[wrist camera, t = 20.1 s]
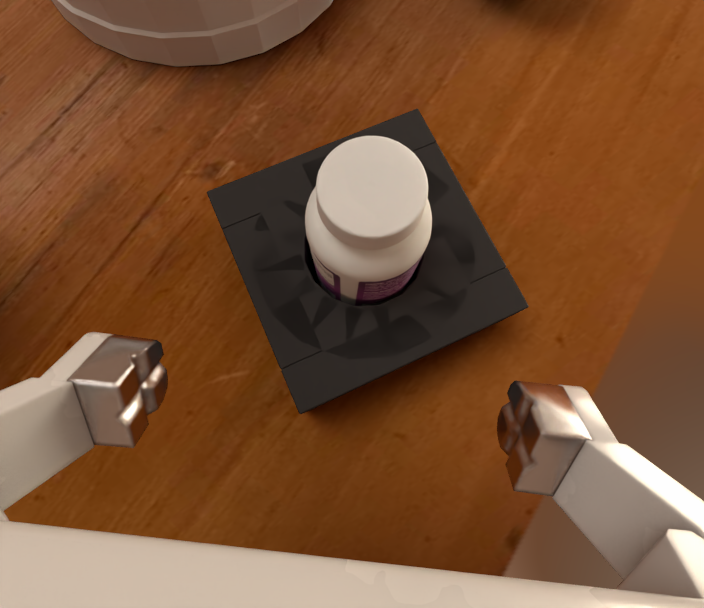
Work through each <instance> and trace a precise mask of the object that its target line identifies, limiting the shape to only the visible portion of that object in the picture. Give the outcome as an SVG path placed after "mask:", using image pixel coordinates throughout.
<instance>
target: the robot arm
mask: <svg viewBox="0 0 704 608" xmlns="http://www.w3.org/2000/svg"><path fill="white" fill-rule="evenodd" d="M163 355H164V354H163V349H162V345H161V343H160V342H159V341H157V340H152V339H145V338H138V337H130V336H123V335H115V334H114V335H112V334H105V333H98V332H91V333H87V334H85V335H84V336H83V337H82V338H81V339H80V340H79V341H78V342H77V343H76V344H75V345H74V346H73V347H72V348H70V349H69V350H68V351H67V352H66V353H65V354H64V355H63V356H62V357H61V358H60V359H59V360H58V361H57V362H56V363H55V364H54V365H53V366H52V367H51V368H50V369H48V370H47V371H46V372H45V373H44V374H43V375H42V376H41V377H40V378H30V379H27V380H25V381H22V382H20V383H18V384H15V385H13V386H10V387H8V388H5V389H3V390H1V391H0V608H704V501H703V500H701V499H700V498H698V497H697V496H696V495H694V494H693V493H692V492H690V491H689V490H688V489H686V488H685V487H683V486H682V485H681V484H679V483H678V482H676V481H675V480H674V479H672V478H671V477H670V476H668V475H667V474H666V473H664V472H663V471H661V470H660V469H659V468H658V467H656V466H655V465H653V464H652V463H651V462H649V461H648V460H647V459H645V458H644V457H643V456H641V455H640V454H638V453H637V452H636V451H634V450H633V449H632V448H630V447H629V446H627V445H626V444H619V443H618V441H617V439H616V438H615V436H614V435H613V433H612V431H611V430H610V428H609V426H608V425H607V423H606V422H605V420H604V418H603V417H602V415H601V413H600V412H599V410H598V408H597V407H596V405H595V404H594V402H593V400H592V399H591V397H590V395H589V394H588V392H587V391H586V390H585V389H584V388H582V387H578V386H567V385H551V384H542V383H533V382H523V381H514V382H513V383H512V384H511V385H510V388H509V390H508V393H507V394H508V397H509V400H510V402H509V403H507V404H506V405H504V406H503V407H502V408H501V410H500V413H499V416H498V422H497V435H498V440H499V444H500V447H501V449H502V450H503V451H504V452H506V453H507V454H508V455H509V458H508V460H507V462H506V467H507V470H508V474H509V477H510V480H511V483H512V487H513V490H514V491H518V492H526V493H533V494H540V495H547V496H553V499H554V501H555V502H556V503H557V504H558V505H559V506H560V508H561V509H562V510H563V511H564V512H565V513H566V514H567V516H568V517H569V518H570V519H571V520H572V521H573V522H574V524H575V525H576V526H577V527H578V528H579V529H580V530H581V532H582V533H583V534H584V535H585V536H586V537H587V539H588V540H589V541H590V542H591V543H592V544H593V546H594V547H595V548H596V549H597V550H598V551H599V553H600V554H601V555H602V556H603V557H604V558H605V559H606V561H607V562H608V563H609V564H610V565H611V566H612V567H613V569H614V570H615V571H616V572H617V573H618V574H619V576H620V577H621V578H622V579H623V581H622V582H621V583H620V584H619V586H618V587H617V588H616V589H608V588H599V587H590V586H581V585H573V584H564V583H555V582H545V581H537V580H528V579H519V578H510V577H501V576H492V575H483V574H475V573H466V572H457V571H448V570H439V569H430V568H421V567H412V566H403V565H394V564H385V563H376V562H367V561H358V560H349V559H340V558H331V557H322V556H313V555H305V554H296V553H287V552H278V551H269V550H260V549H251V548H242V547H233V546H225V545H216V544H207V543H198V542H189V541H180V540H171V539H162V538H153V537H145V536H136V535H127V534H118V533H109V532H100V531H91V530H82V529H74V528H65V527H56V526H47V525H38V524H29V523H20V522H11V521H9V520H8V518H7V516H6V515H5V513H4V510H5V509H7V508H8V507H9V506H11V505H12V504H14V503H15V502H17V501H18V500H19V499H21V498H22V497H24V496H25V495H27V494H28V493H29V492H31V491H32V490H34V489H35V488H37V487H38V486H39V485H41V484H42V483H44V482H45V481H46V480H48V479H49V478H51V477H52V476H54V475H55V474H56V473H58V472H59V471H61V470H62V469H64V468H65V467H66V466H68V465H69V464H71V463H72V462H73V461H75V460H76V459H78V458H79V457H81V456H82V455H83V454H85V453H86V452H88V451H89V450H91V449H92V448H93V447H94V445H104V446H116V447H128V448H134V447H135V445H136V444H137V442H138V441H139V439H140V437H141V436H142V434H143V433H144V431H145V429H146V428H147V426H148V425H149V423H148V419H147V415H149V414H151V413H152V412H154V411H156V410H157V409H158V408H159V407H160V405H161V403H162V402H163V400H164V397H165V394H166V390H167V385H168V376H167V370H166V368H165V367H164V366H163V365H162V364H161V363H160V362H159V360H160V359H161V358H162V356H163Z"/></svg>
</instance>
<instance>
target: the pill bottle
mask: <svg viewBox="0 0 704 608" xmlns="http://www.w3.org/2000/svg"><path fill="white" fill-rule="evenodd" d="M427 197H428V179H427V175H426V172H425V169H424V167H423V165H422V163H421V161H420V160H419V159H418V157H417V156H416V155H415V154H414V153H413V152H412V151H411V150H410V149H409V148H407V147H406V146H404V145H403V144H401V143H399V142H397V141H395V140H392V139H390V138H386V137H381V136H362V137H357V138H353V139H351V140H348V141H346V142H344V143H342V144H340V145H339V146H337V147H336V148H335V149H333V150H332V151H331V152H330V153H329V155H328V156H327V157H326V158H325V160H324V161H323V163H322V165H321V167H320V169H319V171H318V175H317V181H316V187H315V188H314V190H313V191H312V193H311V195H310V198H309V200H308V203H307V207H306V212H305V228H306V236H307V239H308V243H309V246H310V250H311V254H312V258H313V261H314V265H315V269H316V273H317V277H318V280H319V282H320V285H321V287H322V288H323V290H324V291H326V292H327V293H328V294H329V295H330V296H331V297H332V298H335V299H337V300H340V301H343V302H345V303H348V304H351V305H354V306H362V305H380V304H382V303H384V302H386V301H388V300H391V299H393V298H395V297H397V296H400V295H401V294H402V292H403V291H404V289H405V288H406V286H407V284H408V282H409V281H410V279H411V277H412V275H413V273H414V271H415V269H416V267H417V265H418V263H419V261H420V259H421V257H422V255H423V253H424V251H425V249H426V247H427V245H428V242H429V240H430V236H431V229H432V213H431V208H430V204H429V201H428V198H427Z"/></svg>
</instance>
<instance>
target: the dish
mask: <svg viewBox="0 0 704 608" xmlns="http://www.w3.org/2000/svg"><path fill="white" fill-rule="evenodd" d="M51 1H52V2H53V3H54V5H55V6H56V7H57V9H58V10H59V12H60V13H61V14H62V16H63V17H64V18H65V19H66V20H67V21H68V22H70V23H71V24H72V25H73V26H75V27H76V28H77V29H78V30H80V31H81V32H82V33H83V34H84V35H86V36H87V37H88V38H89V39H91V40H92V41H93V42H94V43H97V44H99V45H101V46H103V47H106V48H108V49H110V50H113V51H115V52H117V53H119V54H122V55H124V56H126V57H128V58H131V59H134V60H140V61H146V62H152V63H158V64H164V65H170V66H175V67H177V66H196V65H215V64H224V63H227V62H231V61H235V60H238V59H242V58H246V57H249V56H253V55H256V54H260V53H264V52H266V51H268V50H269V49H271V48H273V47H275V46H277V45H279V44H280V43H282V42H284V41H286V40H288V39H290V38H291V37H293V36H295V35H297V34H299V33H301V32H302V31H303V30H304V29H305V28H306V27H307V26H308V25H309V24H311V23H312V22H313V21H314V20H315V19H316V18H317V17H318V16H319V15H320V14H321V13H322V12H324V11H325V10H326V9H327V8H328V7H329V6H330V5H331V3H332V1H333V0H51Z"/></svg>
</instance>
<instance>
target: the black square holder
mask: <svg viewBox="0 0 704 608" xmlns="http://www.w3.org/2000/svg"><path fill="white" fill-rule="evenodd" d="M362 136H381V137H386V138H390V139H392V140H395V141H397V142H399V143H401V144H403V145H404V146H406V147H407V148H409V149H410V150H411V151H412V152H413V153H414V154H415V155H416V156H417V157H418V159H419V160H420V161H421V163H422V165H423V167H424V169H425V172H426V175H427V179H428V197H427V198H428V201H429V204H430V208H431V213H432V229H431V236H430V240H429V242H428V245H427V247H426V249H425V251H424V253H423V255H422V257H421V259H420V261H419V263H418V265H417V267H416V269H415V271H414V273H413V275H412V279H411V282H410V284H409V286H408V287H407V288H406V290H405V291H404V292H403V293H402V294H401V295H400V296H397V297H395V298H393V299H391V300H388V301H386V302H384V303H382V304H380V305H362V306H354V305H351V304H348V303H345V302H343V301H340V300H337V299H335V298H332V297H331V296H330V295H329V294H328V293H327V292H326V291H324V290H323V289H322V288H321V287H320V286H319V285H318V284H317V283H316V282H315V281H314V279H313V277H312V275H311V266H310V261H311V258H312V254H311V250H310V246H309V243H308V239H307V236H306V228H305V212H306V207H307V203H308V200H309V198H310V195H311V193H312V191H313V190H314V188H315V187H316V181H317V175H318V171H319V169H320V167H321V165H322V163H323V161H324V160H325V158H326V157H327V156H328V155H329V153H330V152H331V151H332V150H333V149H335V148H336V147H337V146H339V145H340V144H342V143H344V142H346V141H348V140H351V139H353V138H357V137H362ZM207 194H208V197H209V199H210V201H211V204H212V206H213V209H214V211H215V213H216V216H217V218H218V221H219V223H220V225H221V228H222V229H223V232H224V235H225V237H226V240H227V242H228V244H229V247H230V249H231V251H232V254H233V256H234V259H235V261H236V263H237V266H238V268H239V271H240V273H241V275H242V278H243V280H244V283H245V285H246V287H247V290H248V292H249V295H250V297H251V299H252V302H253V304H254V306H255V309H256V311H257V314H258V316H259V318H260V321H261V323H262V326H263V328H264V330H265V333H266V335H267V338H268V340H269V342H270V345H271V347H272V350H273V352H274V354H275V357H276V359H277V361H278V364H279V366H280V368H281V369H282V373H283V376H284V378H285V381H286V383H287V385H288V388H289V390H290V393H291V395H292V397H293V400H294V402H295V405H296V407H297V409H298V412H299V413H300V414H302V413H305V412H308V411H310V410H312V409H314V408H316V407H318V406H320V405H323V404H325V403H327V402H329V401H331V400H333V399H335V398H337V397H340V396H342V395H344V394H346V393H348V392H350V391H352V390H354V389H357V388H359V387H361V386H363V385H365V384H367V383H369V382H372V381H374V380H376V379H378V378H380V377H382V376H384V375H386V374H389V373H391V372H393V371H395V370H397V369H399V368H401V367H404V366H406V365H408V364H410V363H412V362H414V361H416V360H418V359H421V358H423V357H425V356H427V355H429V354H431V353H433V352H435V351H438V350H440V349H442V348H444V347H446V346H448V345H450V344H453V343H455V342H457V341H459V340H461V339H463V338H465V337H467V336H470V335H472V334H474V333H476V332H478V331H480V330H482V329H484V328H487V327H489V326H491V325H493V324H495V323H497V322H499V321H502V320H504V319H506V318H508V317H510V316H512V315H514V314H516V313H518V312H520V311H522V310H524V309H526V308H528V304H527V302H526V300H525V299H524V297H523V295H522V293H521V292H520V290H519V288H518V286H517V284H516V283H515V281H514V279H513V277H512V276H511V274H510V272H509V270H508V269H507V268H505V267H506V265H505V263H504V262H503V260H502V258H501V256H500V254H499V253H498V251H497V249H496V247H495V246H494V244H493V242H492V240H491V238H490V237H489V235H488V233H487V231H486V230H485V228H484V226H483V224H482V222H481V221H480V219H479V217H478V215H477V214H476V212H475V210H474V208H473V206H472V205H471V203H470V201H469V199H468V198H467V196H466V194H465V192H464V190H463V189H462V187H461V185H460V183H459V182H458V180H457V178H456V176H455V175H454V173H453V171H452V169H451V167H450V166H449V164H448V162H447V160H446V159H445V157H444V155H443V153H442V151H441V150H440V148H439V146H438V144H437V143H436V140H435V139H434V137H433V135H432V133H431V131H430V130H429V128H428V126H427V124H426V123H425V121H424V119H423V117H422V115H421V114H420V112H419V110H418V109H415V110H413V111H410V112H408V113H405V114H403V115H400V116H397V117H395V118H392V119H390V120H387V121H385V122H382V123H380V124H377V125H375V126H372V127H370V128H367V129H365V130H362V131H360V132H357V133H354V134H352V135H349V136H347V137H344V138H342V139H339V140H337V141H334V142H332V143H329V144H327V145H324V146H322V147H319V148H316V149H314V150H311V151H309V152H306V153H304V154H301V155H299V156H296V157H294V158H291V159H289V160H286V161H284V162H281V163H279V164H276V165H273V166H271V167H268V168H266V169H263V170H261V171H258V172H256V173H253V174H251V175H248V176H246V177H243V178H241V179H238V180H236V181H233V182H230V183H228V184H225V185H223V186H220V187H218V188H215V189H213V190H210V191H208V192H207Z"/></svg>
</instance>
